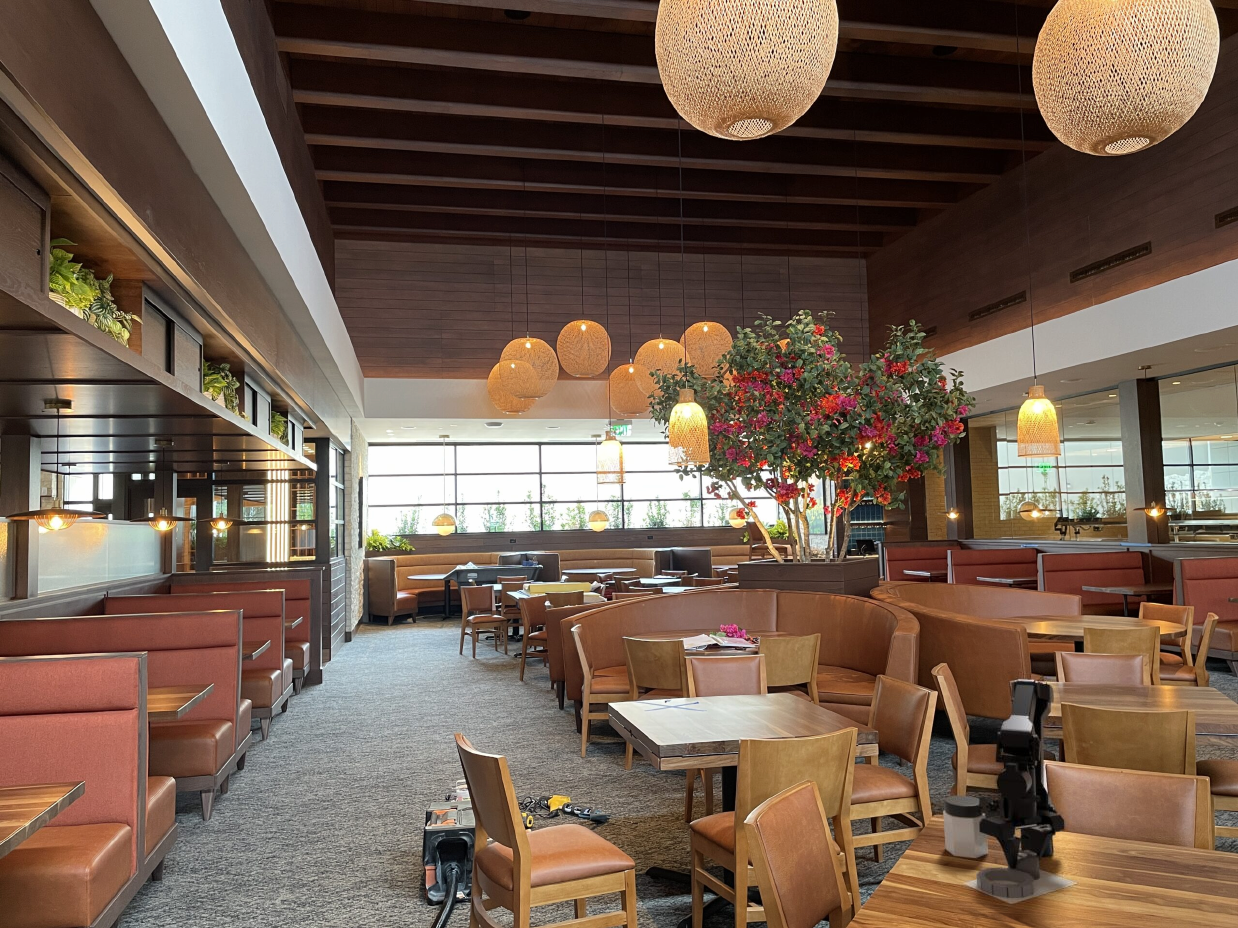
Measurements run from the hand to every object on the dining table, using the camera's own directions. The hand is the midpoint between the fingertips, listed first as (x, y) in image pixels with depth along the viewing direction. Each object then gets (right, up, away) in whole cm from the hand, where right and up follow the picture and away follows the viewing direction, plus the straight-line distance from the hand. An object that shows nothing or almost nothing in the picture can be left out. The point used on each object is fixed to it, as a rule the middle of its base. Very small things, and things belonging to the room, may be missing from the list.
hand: (1023, 866), depth 186 cm
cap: (0, -2, 0) cm, 2 cm away
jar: (-6, -4, +15) cm, 17 cm away
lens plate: (-3, -3, -4) cm, 6 cm away
